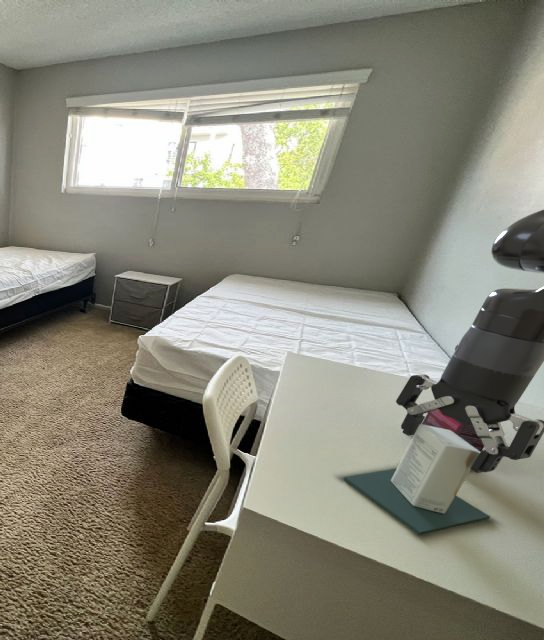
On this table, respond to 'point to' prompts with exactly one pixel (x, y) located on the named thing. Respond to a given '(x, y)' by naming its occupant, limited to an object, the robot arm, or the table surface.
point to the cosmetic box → (434, 468)
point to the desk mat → (413, 517)
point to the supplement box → (454, 428)
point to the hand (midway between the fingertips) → (440, 451)
